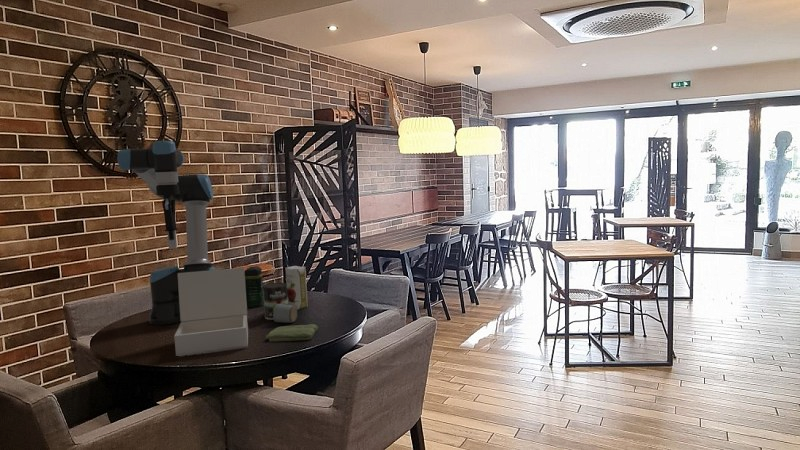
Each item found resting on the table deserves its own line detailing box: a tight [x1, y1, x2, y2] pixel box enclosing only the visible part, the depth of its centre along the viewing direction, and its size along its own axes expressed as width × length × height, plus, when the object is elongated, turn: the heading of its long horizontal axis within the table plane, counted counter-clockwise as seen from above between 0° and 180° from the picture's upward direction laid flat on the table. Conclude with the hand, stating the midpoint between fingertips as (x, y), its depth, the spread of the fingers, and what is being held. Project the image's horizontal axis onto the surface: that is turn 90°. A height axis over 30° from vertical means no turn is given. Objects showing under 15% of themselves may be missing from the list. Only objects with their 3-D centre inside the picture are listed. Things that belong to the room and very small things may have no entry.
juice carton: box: [285, 265, 309, 311], centre depth 239 cm, size 8×9×19 cm
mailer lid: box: [178, 267, 248, 322], centre depth 204 cm, size 18×24×9 cm
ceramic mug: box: [273, 304, 298, 324], centre depth 218 cm, size 11×8×8 cm
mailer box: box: [173, 314, 249, 357], centre depth 191 cm, size 18×24×8 cm
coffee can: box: [263, 282, 288, 321], centre depth 225 cm, size 10×10×14 cm
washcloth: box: [265, 323, 319, 342], centre depth 198 cm, size 13×18×3 cm
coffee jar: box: [244, 265, 264, 308], centre depth 246 cm, size 10×8×19 cm
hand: (173, 248), depth 189 cm, fingers closed
